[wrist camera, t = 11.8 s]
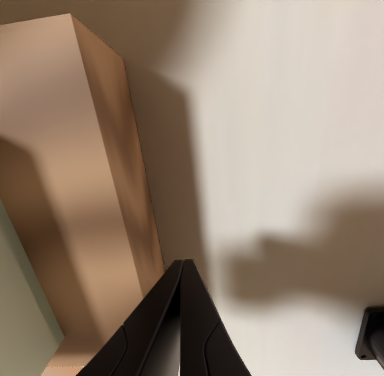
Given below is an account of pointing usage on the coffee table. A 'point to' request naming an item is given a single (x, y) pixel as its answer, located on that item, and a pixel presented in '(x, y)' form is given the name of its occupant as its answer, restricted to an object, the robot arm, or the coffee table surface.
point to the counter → (75, 179)
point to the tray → (23, 310)
